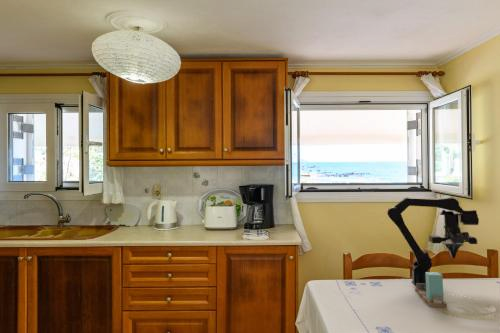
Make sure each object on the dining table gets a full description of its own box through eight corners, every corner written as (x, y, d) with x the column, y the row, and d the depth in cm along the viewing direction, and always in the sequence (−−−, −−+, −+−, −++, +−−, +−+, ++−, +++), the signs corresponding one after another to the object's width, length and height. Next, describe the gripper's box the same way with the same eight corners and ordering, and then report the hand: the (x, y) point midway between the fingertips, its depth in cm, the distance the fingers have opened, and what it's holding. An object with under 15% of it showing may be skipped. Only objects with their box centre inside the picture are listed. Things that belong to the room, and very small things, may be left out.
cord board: (415, 290, 148) (414, 281, 149) (430, 291, 147) (430, 282, 147) (429, 306, 129) (428, 296, 130) (447, 307, 128) (446, 296, 128)
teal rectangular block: (426, 297, 135) (425, 272, 135) (439, 297, 134) (438, 272, 134) (429, 300, 131) (428, 274, 131) (443, 301, 130) (442, 275, 130)
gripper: (435, 226, 149) (437, 261, 148) (482, 227, 145) (484, 263, 144) (427, 223, 159) (429, 256, 159) (470, 224, 156) (472, 257, 155)
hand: (453, 258), depth 154 cm, fingers closed
